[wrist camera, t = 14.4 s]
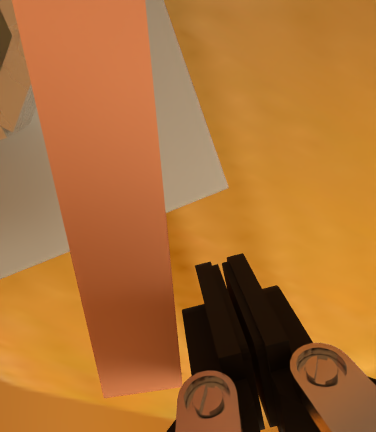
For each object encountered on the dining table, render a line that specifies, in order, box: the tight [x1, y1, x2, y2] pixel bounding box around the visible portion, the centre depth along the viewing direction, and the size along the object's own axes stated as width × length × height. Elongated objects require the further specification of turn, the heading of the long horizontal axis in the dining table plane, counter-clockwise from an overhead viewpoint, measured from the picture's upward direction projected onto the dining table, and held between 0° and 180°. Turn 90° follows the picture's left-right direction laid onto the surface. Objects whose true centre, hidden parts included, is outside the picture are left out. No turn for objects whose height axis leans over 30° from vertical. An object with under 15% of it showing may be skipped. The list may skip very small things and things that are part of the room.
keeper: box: [12, 0, 182, 398], centre depth 8 cm, size 16×4×2 cm, turn 3°
